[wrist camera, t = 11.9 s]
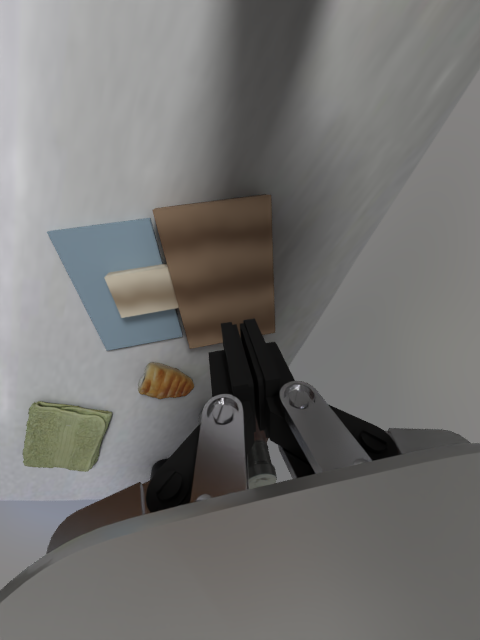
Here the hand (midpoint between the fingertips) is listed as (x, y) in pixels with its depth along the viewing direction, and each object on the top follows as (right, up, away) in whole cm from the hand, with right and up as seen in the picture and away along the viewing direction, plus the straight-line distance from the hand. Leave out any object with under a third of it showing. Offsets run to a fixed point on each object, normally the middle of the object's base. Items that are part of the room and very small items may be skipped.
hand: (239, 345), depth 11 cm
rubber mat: (-16, +5, +22) cm, 28 cm away
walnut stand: (-3, +8, +23) cm, 25 cm away
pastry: (-14, -9, +31) cm, 35 cm away
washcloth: (-33, -20, +34) cm, 52 cm away
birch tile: (-13, +6, +21) cm, 26 cm away
